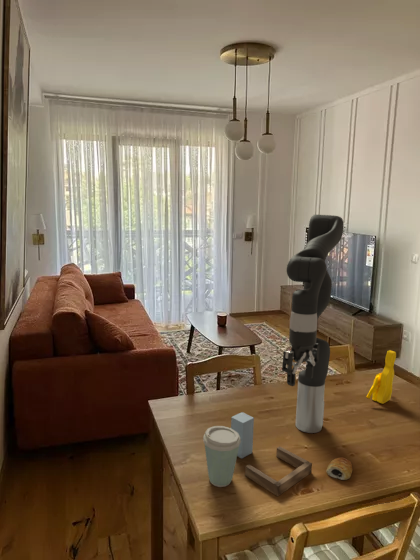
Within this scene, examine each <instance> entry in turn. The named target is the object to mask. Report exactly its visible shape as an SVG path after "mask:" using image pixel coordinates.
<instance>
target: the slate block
mask: <svg viewBox="0 0 420 560" xmlns="http://www.w3.org/2000/svg"><path fill="white" fill-rule="evenodd" d="M230 419H231V421H230V428H231V429H233V430H235V431H236V432H237V433H238V434H239V436H240V438H241V443H240V445H239V449H238V454H237V457H238V458H240V459H244V458H245V457H247V456H249V455H251V454H253V449H254V447H253V445H254V443H253V442H254V427H255V426H254V423H255V418H254V417H253V416H251V415H249V414H247V413H245V412H244V411H242V412H240V413H239V412H238V413H236V414H235V415H233V416H231V418H230Z"/></svg>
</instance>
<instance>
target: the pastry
mask: <svg viewBox="0 0 420 560" xmlns="http://www.w3.org/2000/svg"><path fill="white" fill-rule="evenodd" d="M352 465H353V464H352V462H351V460H349V459H348V458H345V457H336V458H333V459H332V460H331V461H330V462H329V463H328V464H327V468H326V470H325V471H326V474H327V475H328V476H329V477H332V478H334V479H338V480H341V481H347V480H349V479H350V478H351V477H352V473H353V466H352Z"/></svg>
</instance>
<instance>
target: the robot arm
mask: <svg viewBox="0 0 420 560" xmlns="http://www.w3.org/2000/svg"><path fill="white" fill-rule="evenodd" d="M307 232H308V234H307V243H306V244H305V246H304V248H303V249H302V250H301V251H299V252H297V253H296V254H294V255H293V256H292V257H290V259H289V261H288V262H287V264H286V275H287V277H288V278H289V279H290V280H291V281H293V282H297V283H303V288H302V289H297V290H295V291H294V292H293V293H292V297H291V310H290V316H289V317H290V318H289V331H288V332H289V334H288V337H289V338H288V340H289V341H288V342H289V343H290V345H291V348H290V350H284V351H283V354H282V355H283V356H282V366H281V371H282V372H283V373H284V372H285V373H286V374H287V375H286V376H287V377H286V383H287V385H288V386H291V387H295V385H296V372H297V370H298V368H300V367H301V365H302V363H306V364H305V369H303V370H300V371H299V373H298V375H297V376H298V379H297V393H296V395H297V396H296V410H295V411H296V413H295V427H296V428H297V430H299V431H301V432H304V433H309V434H313V433H314V434H316V433H319V432H321V430H322V427H323V426H324V415H325V414H324V412H325V388H326V387H325V385H326V379H327V376H328V372H329V366H330V357H331V347H330V344H329V342H328V341H327V340H325V339H322V338H319V337H317V335H318V334H317V331H318V320H319V317H321V315H322V314H323V312H324V311H326V309H327V308H328V306H329V303H330V301H331V295H332V285H333V282H332V278H331V276H330V273H329V272H328V270H327V269H328V268H327V264H326V259H327V257H328V255H329V254H330V252H331V251H332V250H333V249H334V248H335V247H336V246H337V245H338V244H339V243H340V241H341V239H342V237H343V233H344V220H343V218H342V217H341V216H339V215H330V214H312V215H311V216H310V220H309V222H308V231H307Z"/></svg>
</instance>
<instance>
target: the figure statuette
mask: <svg viewBox="0 0 420 560" xmlns="http://www.w3.org/2000/svg"><path fill="white" fill-rule="evenodd" d="M396 357H397V352H396V351H393V350H391V349H389V350H387V352H386V355H385V358H384V359H385V361H384V362H385V365H384V367H383V369H382V371H381V372H379V373H377V374H375V378H374V379H373V380H372V381H373V383H372V385H371V387H370V389H369V391H368V392H367V395H366V396H365V397H366V398H367V399H368V400H370V399H372V401H374V402H377V403H379V404H381V405H383V404H385V403H387V402H388V401H390V400H391V397H392V393H393V382H394V377H395V370H394V365H395V362H396V359H397V358H396ZM371 397H372V398H371Z"/></svg>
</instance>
